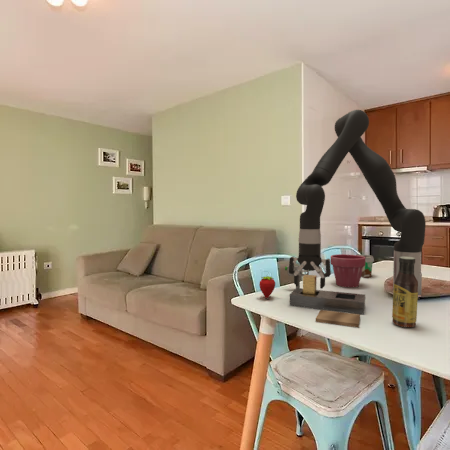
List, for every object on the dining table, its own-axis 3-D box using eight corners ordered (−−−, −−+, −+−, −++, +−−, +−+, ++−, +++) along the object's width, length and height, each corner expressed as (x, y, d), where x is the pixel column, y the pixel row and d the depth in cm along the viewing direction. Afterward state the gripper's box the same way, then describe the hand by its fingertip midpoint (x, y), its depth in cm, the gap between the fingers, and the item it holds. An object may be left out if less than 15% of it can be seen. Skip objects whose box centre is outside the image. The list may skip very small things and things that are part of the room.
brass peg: (316, 303, 117) (316, 275, 116) (314, 306, 113) (314, 277, 113) (305, 301, 119) (305, 274, 118) (302, 304, 115) (302, 276, 114)
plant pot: (349, 280, 152) (349, 253, 151) (372, 287, 138) (373, 257, 138) (323, 283, 147) (323, 255, 146) (345, 290, 133) (345, 259, 133)
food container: (378, 278, 154) (378, 257, 154) (365, 278, 154) (365, 258, 154) (367, 273, 166) (367, 254, 166) (355, 273, 166) (355, 254, 166)
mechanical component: (310, 291, 132) (310, 267, 132) (285, 290, 134) (285, 266, 134) (310, 289, 135) (310, 266, 135) (285, 288, 137) (285, 265, 137)
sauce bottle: (387, 321, 98) (388, 255, 97) (407, 320, 98) (408, 255, 97) (401, 329, 91) (402, 259, 90) (422, 328, 92) (423, 258, 91)
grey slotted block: (365, 305, 113) (365, 294, 113) (364, 314, 104) (364, 302, 104) (296, 298, 123) (296, 287, 123) (289, 305, 114) (289, 294, 114)
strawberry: (277, 296, 126) (277, 270, 125) (272, 301, 119) (272, 274, 118) (263, 294, 128) (262, 269, 128) (256, 300, 121) (256, 273, 121)
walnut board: (360, 317, 101) (360, 314, 101) (358, 327, 93) (358, 324, 93) (320, 312, 106) (320, 309, 106) (315, 321, 98) (315, 318, 98)
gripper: (332, 241, 115) (331, 286, 116) (292, 239, 121) (291, 282, 122) (329, 243, 108) (328, 291, 109) (287, 241, 114) (286, 287, 115)
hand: (309, 287), depth 116 cm, fingers open, 8 cm apart
